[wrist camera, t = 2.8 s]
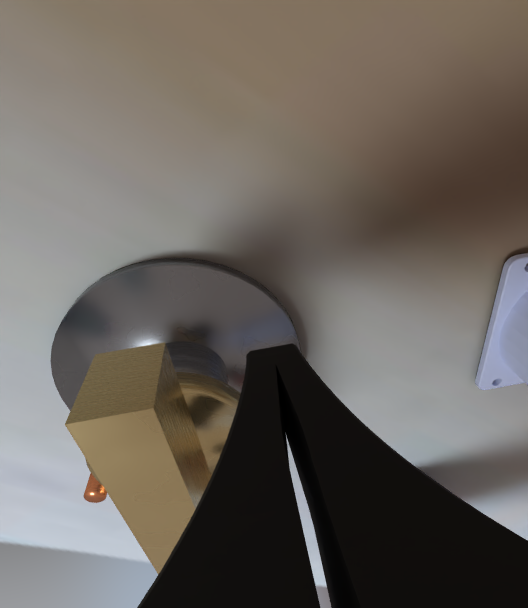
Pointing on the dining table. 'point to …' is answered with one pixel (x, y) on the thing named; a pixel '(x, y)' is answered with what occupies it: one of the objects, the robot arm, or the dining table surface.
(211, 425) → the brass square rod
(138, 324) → the post base
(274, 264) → the dining table surface
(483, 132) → the dining table surface
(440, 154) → the dining table surface
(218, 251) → the dining table surface
